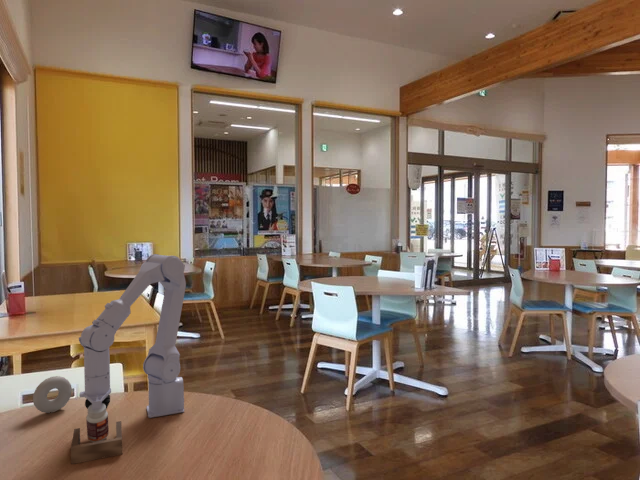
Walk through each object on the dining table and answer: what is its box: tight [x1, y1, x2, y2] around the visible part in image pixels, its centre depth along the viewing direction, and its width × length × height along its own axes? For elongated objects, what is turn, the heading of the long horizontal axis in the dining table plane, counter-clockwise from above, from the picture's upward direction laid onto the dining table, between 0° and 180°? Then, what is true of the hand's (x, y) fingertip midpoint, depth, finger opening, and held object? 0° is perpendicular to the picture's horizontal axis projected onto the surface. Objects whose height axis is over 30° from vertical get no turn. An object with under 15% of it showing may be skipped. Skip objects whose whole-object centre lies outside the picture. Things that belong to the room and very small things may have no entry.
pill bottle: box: [85, 403, 110, 443], centre depth 111 cm, size 5×5×8 cm
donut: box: [32, 375, 73, 414], centre depth 128 cm, size 10×3×10 cm, turn 143°
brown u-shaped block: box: [70, 420, 123, 465], centre depth 107 cm, size 10×10×4 cm
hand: (98, 426), depth 114 cm, fingers closed, pressing on pill bottle
